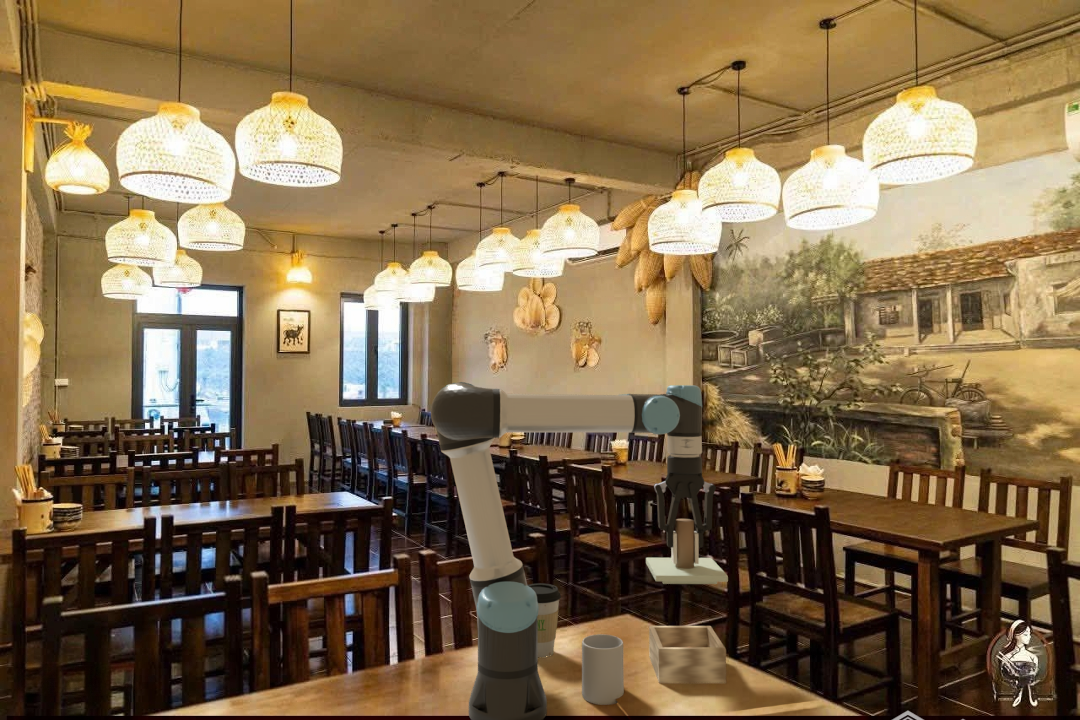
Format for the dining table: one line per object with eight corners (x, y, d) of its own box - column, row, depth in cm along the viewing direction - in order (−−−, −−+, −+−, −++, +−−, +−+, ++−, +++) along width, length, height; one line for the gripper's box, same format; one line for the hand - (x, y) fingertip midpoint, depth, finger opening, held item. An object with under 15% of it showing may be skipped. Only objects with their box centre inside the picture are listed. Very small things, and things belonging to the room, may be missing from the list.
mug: (625, 705, 141) (625, 649, 141) (582, 705, 141) (582, 649, 141) (620, 680, 153) (620, 628, 153) (580, 679, 153) (580, 627, 153)
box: (659, 687, 149) (658, 649, 149) (649, 661, 163) (649, 625, 163) (726, 687, 149) (725, 649, 149) (710, 661, 163) (710, 625, 163)
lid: (655, 586, 149) (655, 527, 149) (645, 567, 164) (645, 513, 164) (727, 586, 149) (727, 527, 149) (711, 567, 164) (711, 514, 164)
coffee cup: (514, 647, 171) (514, 584, 172) (553, 642, 174) (553, 581, 175) (525, 663, 162) (525, 596, 162) (566, 658, 165) (566, 592, 165)
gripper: (648, 456, 153) (648, 566, 153) (727, 457, 153) (728, 566, 153) (643, 453, 161) (643, 557, 160) (719, 453, 161) (719, 558, 160)
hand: (684, 561), depth 156 cm, fingers closed on lid, 4 cm apart
